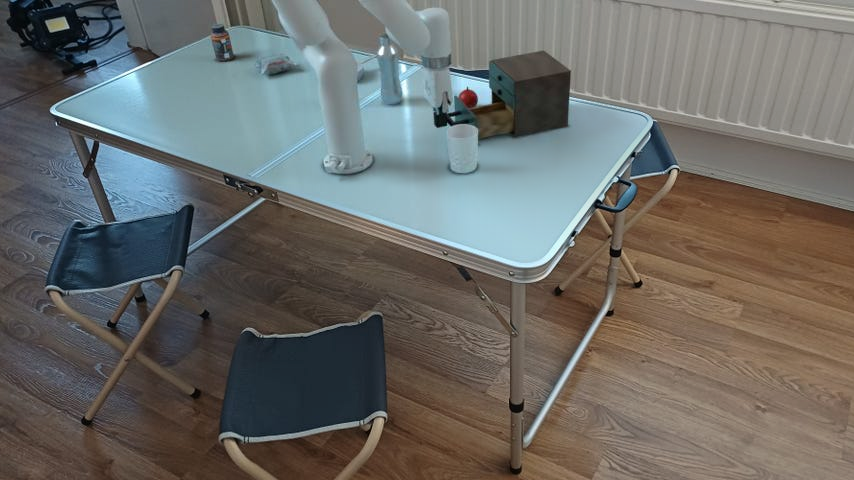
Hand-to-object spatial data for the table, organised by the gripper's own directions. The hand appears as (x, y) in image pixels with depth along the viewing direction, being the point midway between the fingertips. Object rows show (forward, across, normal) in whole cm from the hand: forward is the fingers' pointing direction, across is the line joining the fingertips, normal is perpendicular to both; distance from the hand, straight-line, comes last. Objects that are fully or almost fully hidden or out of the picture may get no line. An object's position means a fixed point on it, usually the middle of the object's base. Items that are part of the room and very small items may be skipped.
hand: (440, 125), depth 195 cm
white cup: (+4, +17, 0) cm, 17 cm away
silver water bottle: (+4, -28, -5) cm, 29 cm away
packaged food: (+4, -67, -33) cm, 75 cm away
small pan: (+4, -53, -10) cm, 54 cm away
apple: (+4, -14, +13) cm, 20 cm away
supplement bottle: (+4, -87, -47) cm, 99 cm away
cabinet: (+4, 0, +26) cm, 27 cm away
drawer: (+4, 0, +12) cm, 12 cm away
